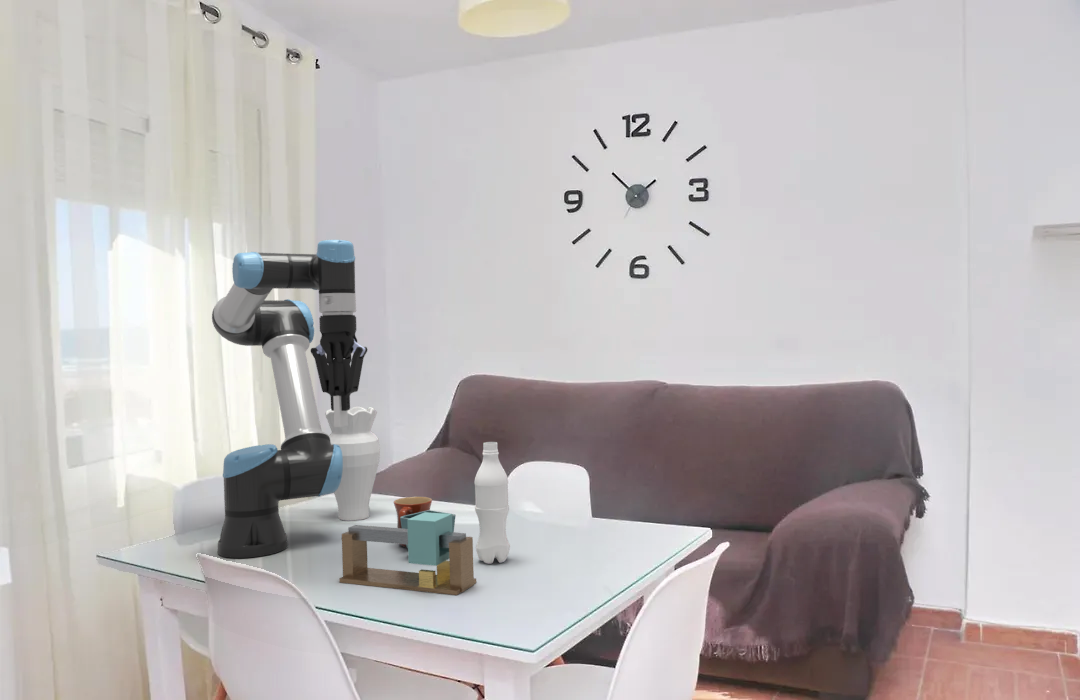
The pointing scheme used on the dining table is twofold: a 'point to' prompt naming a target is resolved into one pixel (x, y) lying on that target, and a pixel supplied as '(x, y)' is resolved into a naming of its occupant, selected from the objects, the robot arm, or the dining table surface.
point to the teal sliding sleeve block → (428, 538)
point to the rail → (447, 581)
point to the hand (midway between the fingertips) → (341, 426)
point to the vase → (356, 462)
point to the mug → (411, 507)
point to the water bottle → (491, 506)
